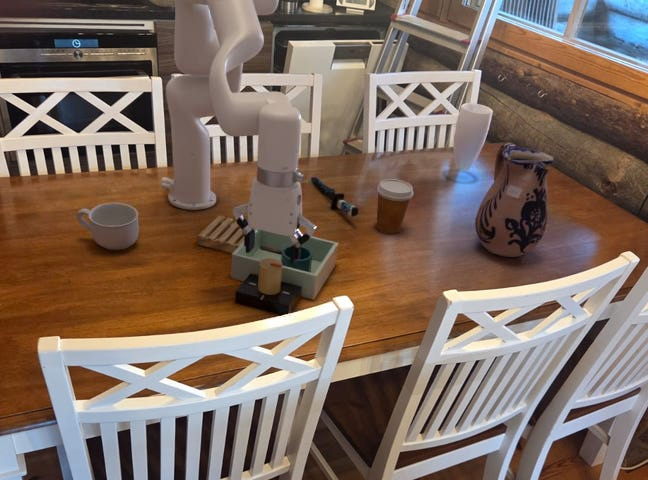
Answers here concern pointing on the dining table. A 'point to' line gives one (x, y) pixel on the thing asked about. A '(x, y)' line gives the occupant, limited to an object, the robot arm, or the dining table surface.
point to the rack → (221, 241)
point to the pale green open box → (309, 281)
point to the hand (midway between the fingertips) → (271, 255)
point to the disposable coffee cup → (392, 204)
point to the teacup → (112, 225)
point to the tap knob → (270, 276)
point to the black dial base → (268, 296)
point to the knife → (335, 198)
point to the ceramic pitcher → (515, 202)
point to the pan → (300, 264)
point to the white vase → (470, 134)
